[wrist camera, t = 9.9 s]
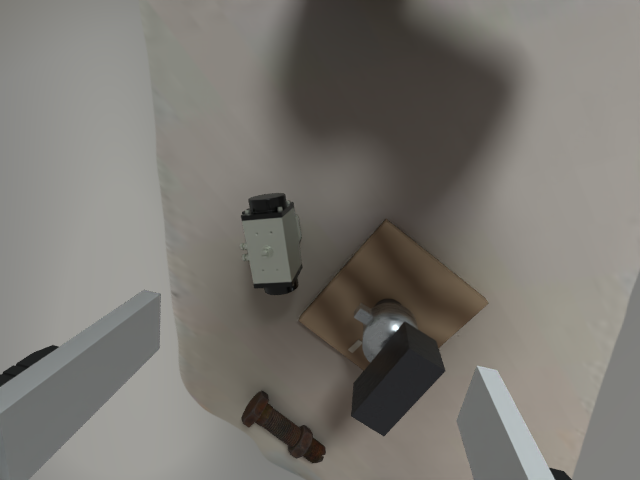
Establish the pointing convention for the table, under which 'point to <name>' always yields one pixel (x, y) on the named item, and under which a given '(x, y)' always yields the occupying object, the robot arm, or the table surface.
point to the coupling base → (391, 293)
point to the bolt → (283, 429)
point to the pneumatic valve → (272, 243)
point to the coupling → (392, 365)
